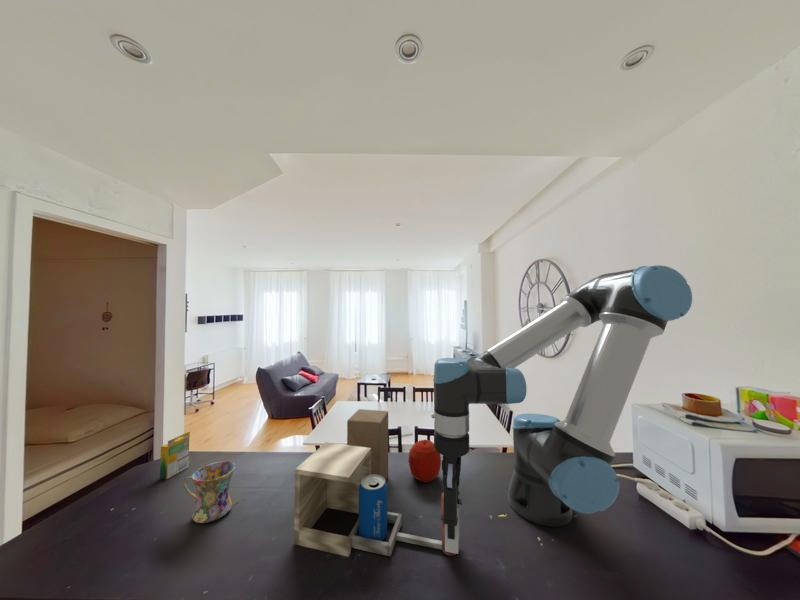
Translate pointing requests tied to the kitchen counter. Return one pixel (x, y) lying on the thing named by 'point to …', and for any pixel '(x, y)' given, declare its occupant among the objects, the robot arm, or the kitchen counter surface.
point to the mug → (211, 491)
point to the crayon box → (174, 456)
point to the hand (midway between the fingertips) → (452, 543)
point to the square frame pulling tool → (395, 537)
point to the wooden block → (371, 437)
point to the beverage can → (373, 507)
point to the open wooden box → (328, 493)
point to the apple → (424, 461)
